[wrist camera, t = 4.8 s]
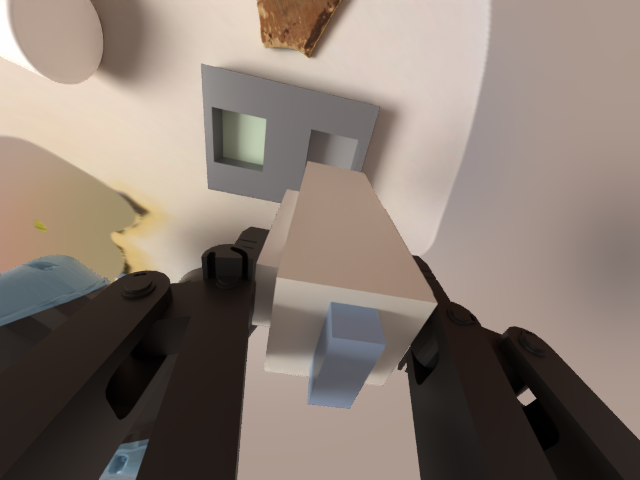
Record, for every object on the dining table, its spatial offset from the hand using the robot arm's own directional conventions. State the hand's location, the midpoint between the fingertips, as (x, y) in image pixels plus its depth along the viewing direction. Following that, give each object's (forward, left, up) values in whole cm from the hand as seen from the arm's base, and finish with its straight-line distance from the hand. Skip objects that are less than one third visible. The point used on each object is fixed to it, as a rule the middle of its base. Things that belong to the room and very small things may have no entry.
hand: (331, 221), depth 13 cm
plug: (0, 0, -4) cm, 4 cm away
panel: (0, +5, -17) cm, 18 cm away
